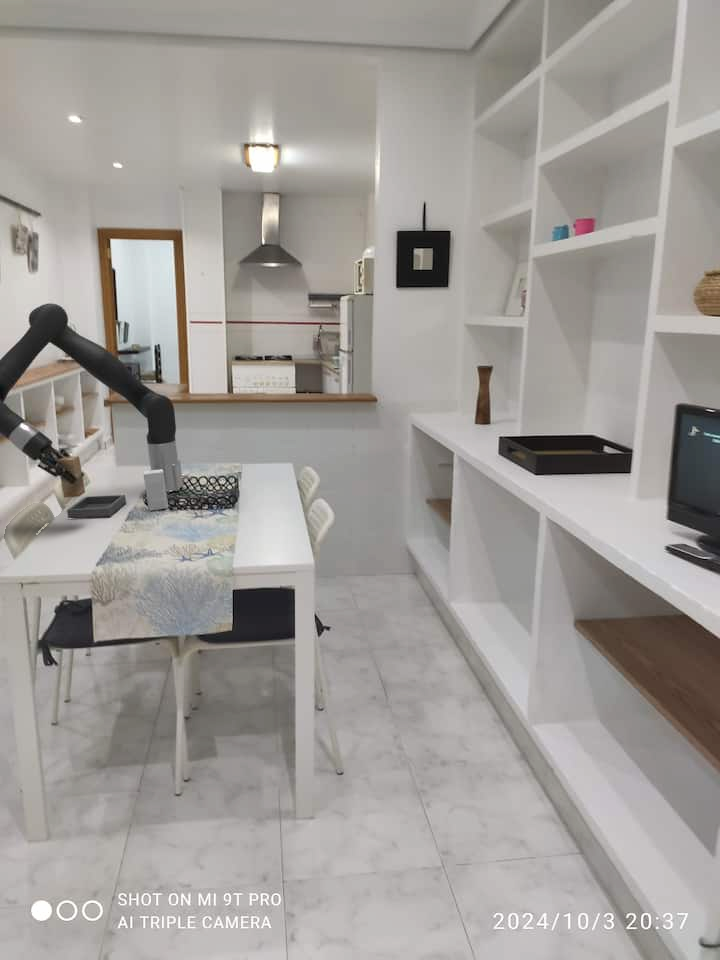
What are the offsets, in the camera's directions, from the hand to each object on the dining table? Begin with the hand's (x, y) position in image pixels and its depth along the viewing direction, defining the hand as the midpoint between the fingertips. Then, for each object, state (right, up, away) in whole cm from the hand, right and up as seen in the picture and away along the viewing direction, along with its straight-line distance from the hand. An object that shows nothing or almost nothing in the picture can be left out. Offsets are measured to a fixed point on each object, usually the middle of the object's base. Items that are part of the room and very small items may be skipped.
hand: (78, 479), depth 204 cm
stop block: (-2, -5, +1) cm, 5 cm away
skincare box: (+18, -9, +17) cm, 27 cm away
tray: (-1, -10, +17) cm, 20 cm away
